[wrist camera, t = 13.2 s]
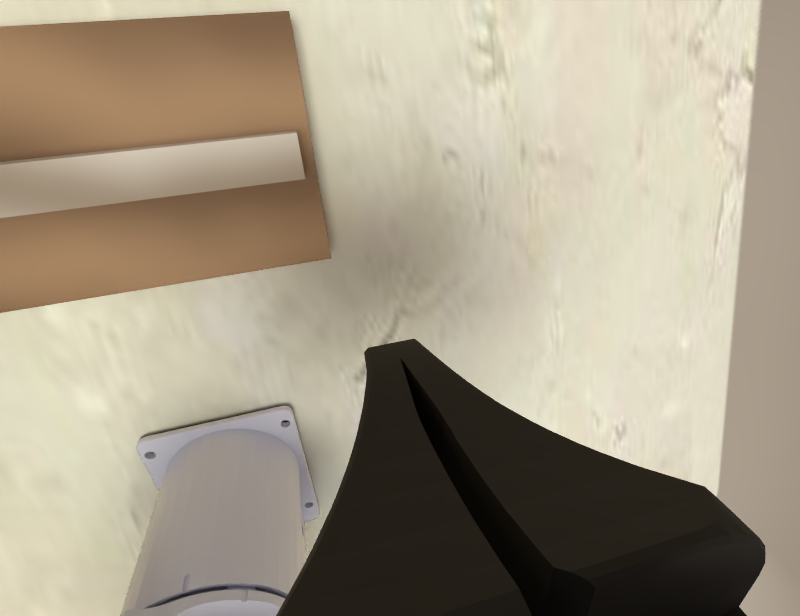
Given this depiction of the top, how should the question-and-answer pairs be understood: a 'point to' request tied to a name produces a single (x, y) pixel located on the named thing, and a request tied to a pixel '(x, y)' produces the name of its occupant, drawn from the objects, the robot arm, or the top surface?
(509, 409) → the robot arm
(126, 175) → the rail track
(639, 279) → the top surface
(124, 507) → the top surface
